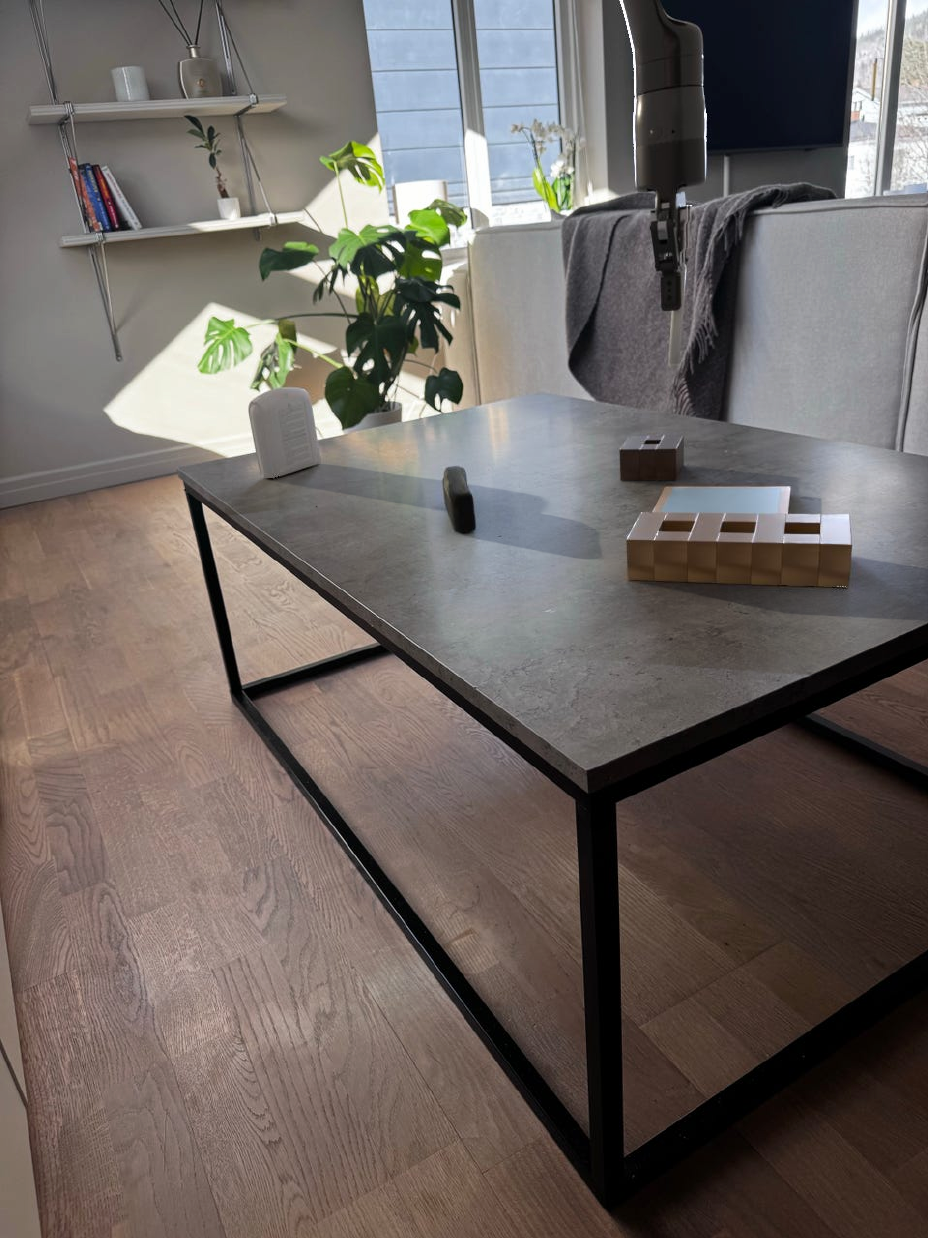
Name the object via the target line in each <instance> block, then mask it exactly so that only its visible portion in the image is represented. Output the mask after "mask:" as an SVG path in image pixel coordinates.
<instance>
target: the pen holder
mask: <svg viewBox="0 0 928 1238" xmlns="http://www.w3.org/2000/svg"><path fill="white" fill-rule="evenodd" d="M625 542H626V572H627V573H626V577H627V581H648V582H649V581H650V582H651V581H652V582H676V583H703V584H704V583H705V584H726V585H727V584H729V585H754V586H755V585H756V586H777V585H780V586H781V585H787V586H786V587H804V586H815V587H814V588H817V587H818V586H819V587H818V588H832V587H837V586H839V587H840V586H841V587H842V586H844V587H845V586H846V587H849V588H850V576H851V566H852V565H851V564H852V553H853V537H852V523H851V514H836V513H835V514H834V513H831V514H827V513H826V514H824V513H823V514H820V513H788V514H758V513H667V512H653V511H650V512H649V511H642V512H640V514H639V516H638V518H637V520H636V521H635V523H634V525H633V527H632V529H631V531H630V533H629V534H628V536H627V537H626V540H625ZM816 586H817V587H816ZM821 586H822V587H821ZM823 586H824V587H823ZM827 586H828V587H827Z"/></svg>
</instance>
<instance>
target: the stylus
mask: <svg viewBox="0 0 928 1238" xmlns="http://www.w3.org/2000/svg"><path fill="white" fill-rule="evenodd" d="M682 266H683V271H682V273H681V295H682V306H681V308H680V309H679V310H675V311H671V316H670V331H669V344H668V360H667V365H668V367H669V368H670V369H673V370H675V369H677V368H678V367H679V366H680V361H681V347H682V335H683V321H684V319H683V318H684V307H685V305H684V304H685V295H686V280H687V266H686V265H685V264H684V263H682Z"/></svg>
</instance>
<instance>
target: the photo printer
mask: <svg viewBox="0 0 928 1238" xmlns="http://www.w3.org/2000/svg"><path fill="white" fill-rule="evenodd" d="M247 411H248V412H247V413H248V418H249V423H250V428H251V435H252V439H253V444H254V449H255V453H256V454H255V455H256V461H257V464H258V469H259V474H260V475H261V476H262V478H263V479H268V478H273V479H276V478H279V477H282V476H285V475H288V474H291V473H294V472H297V471H301V470H303V469H307V468H311V467H313V466H316V465H319V464H320V463H322V458H321V452H320V446H319V439H318V433H317V427H316V421H315V415H314V414H315V413H314V408H313V403H312V399H311V396H310V394H309V393H308V391H307V390H306V389H304V388H301V387H296V386H295V387H294V386H284V387H283V386H281V387H275V388H271V389H269V390H267V391H264V392H262V393H261V394H259V395H257V396H256V397H254V398H253V399H252V400H250V402H249V403H248V410H247ZM278 476H279V477H278ZM275 477H276V478H275Z"/></svg>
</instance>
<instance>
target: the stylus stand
mask: <svg viewBox="0 0 928 1238" xmlns="http://www.w3.org/2000/svg"><path fill="white" fill-rule="evenodd" d="M618 452H619V479H620V481H677V479H678V477H679V475H680V474H681V472H682V470H683V467H684V465H685V435H684V434H666V435H663V434H661V435H659V434H658V435H656V434H655V435H629V436H628V438H627V439H626V440H625V442H624V443H623V444H622V445H621V447H620V448H619V451H618Z"/></svg>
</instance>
